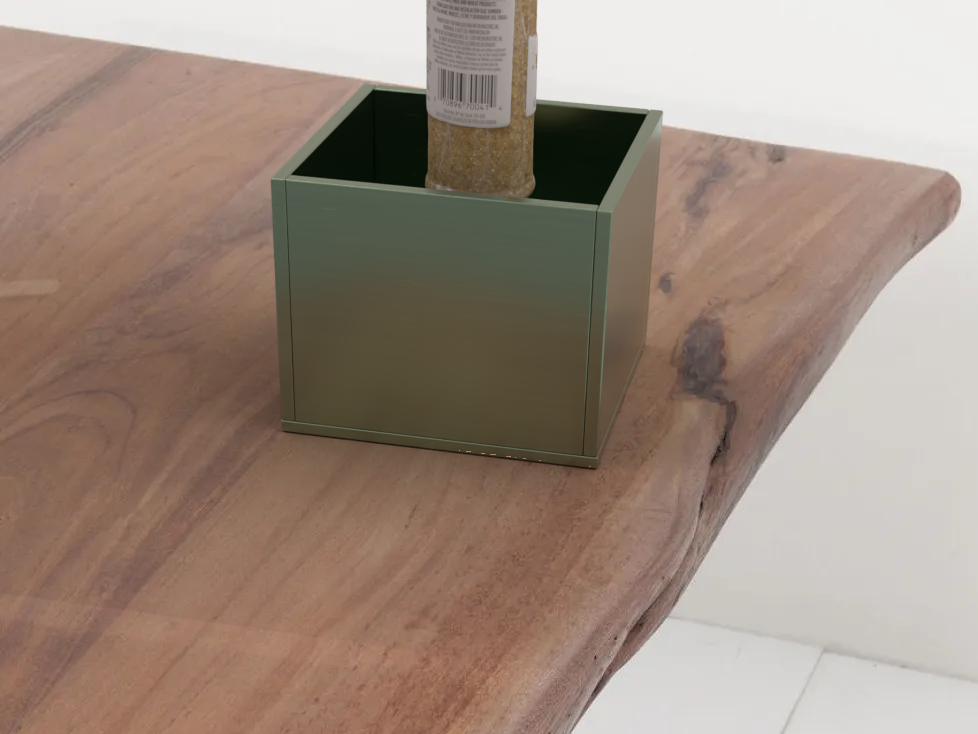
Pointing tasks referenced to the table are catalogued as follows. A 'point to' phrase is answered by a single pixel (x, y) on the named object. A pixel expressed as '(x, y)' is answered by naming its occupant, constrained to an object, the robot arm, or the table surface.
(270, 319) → the table surface
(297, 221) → the bin
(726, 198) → the table surface
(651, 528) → the table surface
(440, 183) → the sprinkles bottle
